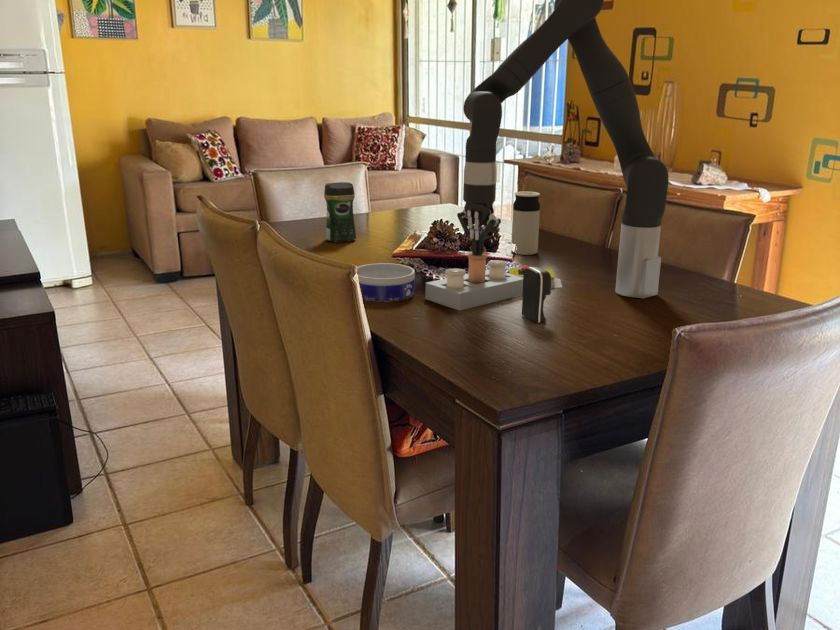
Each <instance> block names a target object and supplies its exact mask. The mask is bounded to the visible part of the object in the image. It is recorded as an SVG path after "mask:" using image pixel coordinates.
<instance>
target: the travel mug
mask: <svg viewBox="0 0 840 630" xmlns="http://www.w3.org/2000/svg"><path fill="white" fill-rule="evenodd" d="M514 195H515V196H514V197H515V200H514V201H513V203H512V204H513V205H512V220H511V221H512V223H511V242H512V243H513V244H516V245H517V250H516V254H515V255H519V256H533V255H536V254H538V249H539V231H540V218H541V217H540V216H541V215H540V213H541V203H540V202H539V201H540V200H539V196H541V193H539V192H536V191H525V190H524V191H522V190H521V191H516V192H514Z"/></svg>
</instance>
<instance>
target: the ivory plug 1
mask: <svg viewBox="0 0 840 630" xmlns="http://www.w3.org/2000/svg"><path fill="white" fill-rule="evenodd" d="M465 274H466V270H465V269H463V268H447V269H445V275H446V278H447V287H449V288H452V289H458V288H462V287H464V275H465Z"/></svg>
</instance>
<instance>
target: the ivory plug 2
mask: <svg viewBox="0 0 840 630" xmlns="http://www.w3.org/2000/svg"><path fill="white" fill-rule="evenodd" d="M487 265H488V266H489V267H488V268H489V269H488V270H489V278H493V279H496V280H498V279H503V278H505V275H506V273H507V271H506V269H507V266H508V262H507V261H505V260H501V259H500V260H499V259H498V260H497V259H496V260H495V259H494V260H493V259H492V260H489V261H488V262H487Z"/></svg>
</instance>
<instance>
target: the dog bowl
mask: <svg viewBox="0 0 840 630" xmlns="http://www.w3.org/2000/svg"><path fill="white" fill-rule="evenodd" d="M356 267H357V268H358V278H359V284H360V288H361V292H362V297H363V300H362V301H364V300H365V302H370V301H382V302H381V303H385V302H384V301H396V302H400V301H399V300H402V301H405V300H404V299H406V300H408V299H407V298H409V299H410V297H411V298H412V297H413V296H414V295H415V282H416V281H415V279H416V271H415V269H414V268H412V267H411V266H409V265H405V264H400V263H399V264H398V263H388V262H384V263H383V262H380V263H369V264H363V265H359V266H356Z"/></svg>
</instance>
